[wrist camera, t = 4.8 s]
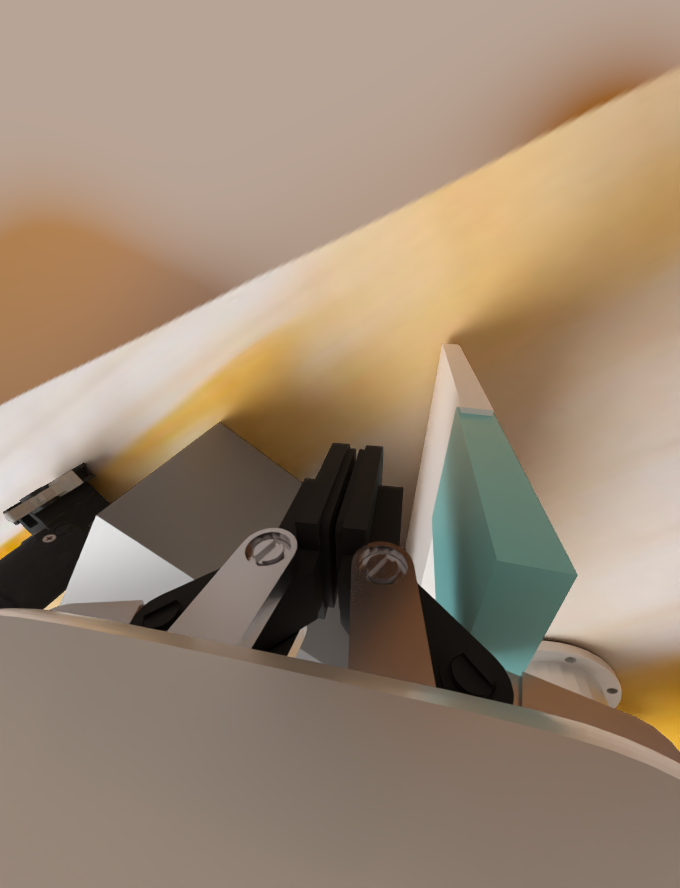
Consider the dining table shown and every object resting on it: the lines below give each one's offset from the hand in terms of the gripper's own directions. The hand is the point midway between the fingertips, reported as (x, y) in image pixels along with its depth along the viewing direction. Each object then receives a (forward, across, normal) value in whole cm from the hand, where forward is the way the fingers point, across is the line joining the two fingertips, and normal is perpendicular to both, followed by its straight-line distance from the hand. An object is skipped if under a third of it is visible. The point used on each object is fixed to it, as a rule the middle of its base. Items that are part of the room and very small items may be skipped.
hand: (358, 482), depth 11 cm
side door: (+13, -3, +7) cm, 15 cm away
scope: (+13, +30, +16) cm, 37 cm away
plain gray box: (+13, +10, +15) cm, 22 cm away
